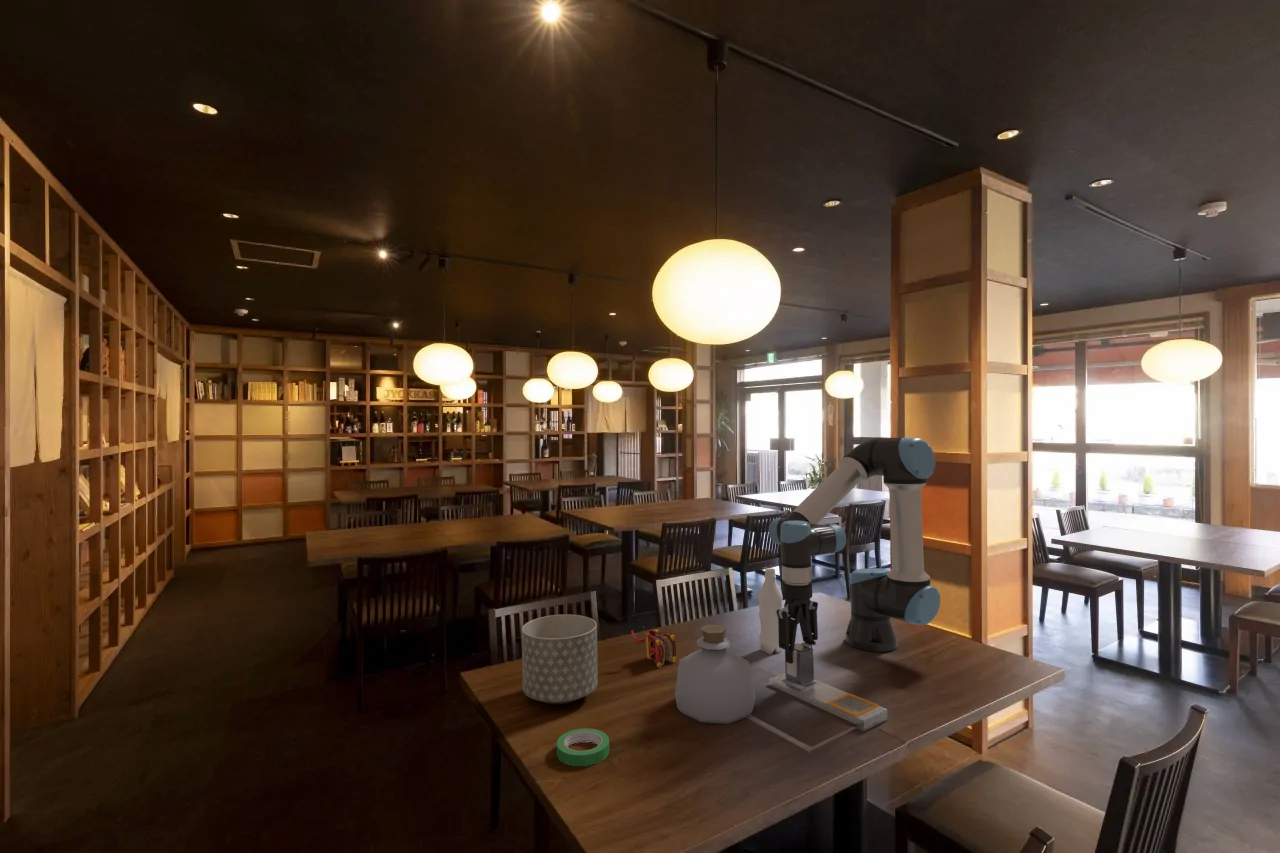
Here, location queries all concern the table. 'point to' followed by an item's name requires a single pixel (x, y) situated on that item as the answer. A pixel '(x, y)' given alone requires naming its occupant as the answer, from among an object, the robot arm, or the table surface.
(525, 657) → the planter
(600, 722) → the table surface
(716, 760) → the table surface
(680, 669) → the bottle
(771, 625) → the water bottle
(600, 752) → the tape roll
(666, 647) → the book monster
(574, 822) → the table surface
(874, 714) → the rail
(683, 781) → the table surface
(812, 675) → the grey tall square block
